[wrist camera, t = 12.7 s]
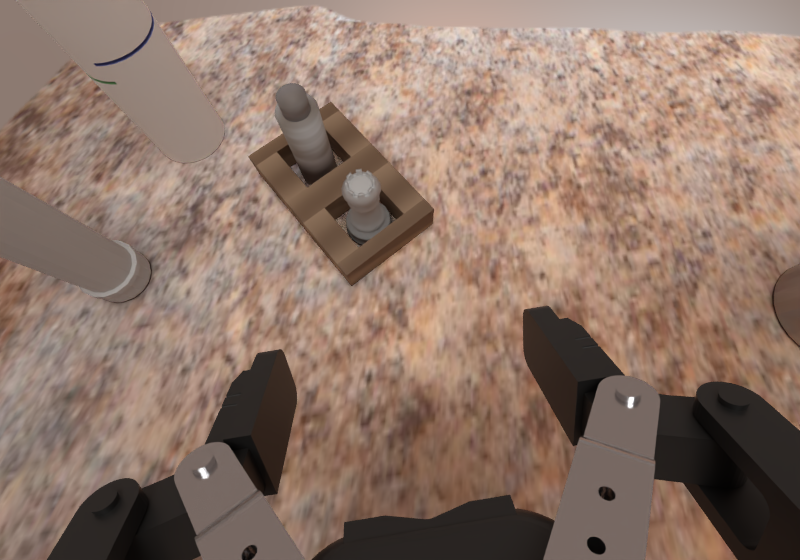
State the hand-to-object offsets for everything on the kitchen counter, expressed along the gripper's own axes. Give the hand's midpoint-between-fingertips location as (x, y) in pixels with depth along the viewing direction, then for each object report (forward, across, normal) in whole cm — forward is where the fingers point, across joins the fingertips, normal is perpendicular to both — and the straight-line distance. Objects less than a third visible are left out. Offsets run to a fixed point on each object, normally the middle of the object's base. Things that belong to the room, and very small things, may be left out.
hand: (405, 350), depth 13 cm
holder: (+30, +4, +2) cm, 30 cm away
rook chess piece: (+27, +2, +5) cm, 28 cm away
